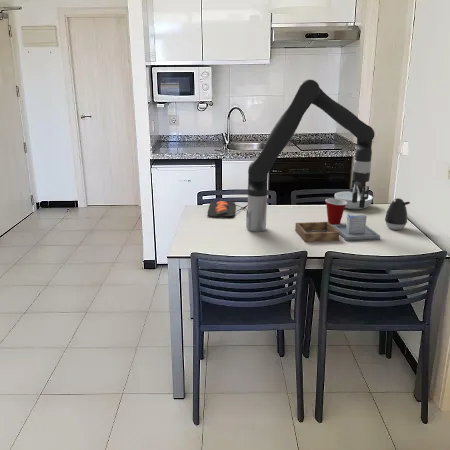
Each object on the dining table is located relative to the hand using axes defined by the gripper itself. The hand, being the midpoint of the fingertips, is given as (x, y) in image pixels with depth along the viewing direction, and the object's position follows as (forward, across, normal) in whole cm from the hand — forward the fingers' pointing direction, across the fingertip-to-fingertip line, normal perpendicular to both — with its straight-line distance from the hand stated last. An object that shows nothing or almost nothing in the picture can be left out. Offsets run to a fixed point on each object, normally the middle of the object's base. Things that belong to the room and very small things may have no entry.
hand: (357, 205), depth 214 cm
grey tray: (+14, 0, 0) cm, 14 cm away
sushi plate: (+16, -45, -50) cm, 69 cm away
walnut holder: (+14, 0, -19) cm, 24 cm away
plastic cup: (+15, -17, -4) cm, 23 cm away
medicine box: (+14, 0, 0) cm, 14 cm away
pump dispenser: (+14, -6, +23) cm, 28 cm away
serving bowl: (+14, -45, +17) cm, 50 cm away
